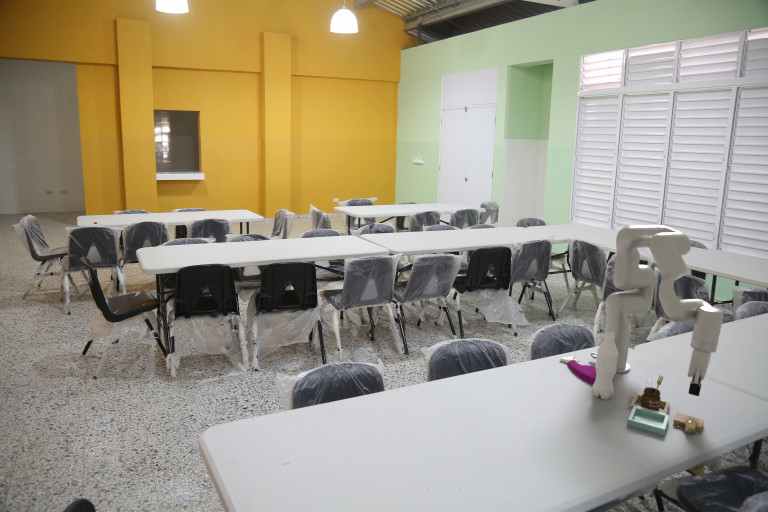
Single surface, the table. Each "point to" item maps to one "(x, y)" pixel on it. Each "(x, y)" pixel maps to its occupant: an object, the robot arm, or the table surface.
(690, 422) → the cylinder
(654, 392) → the utensil holder
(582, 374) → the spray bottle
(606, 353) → the water bottle
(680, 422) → the board
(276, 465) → the table surface
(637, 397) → the wooden square frame
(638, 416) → the tray
